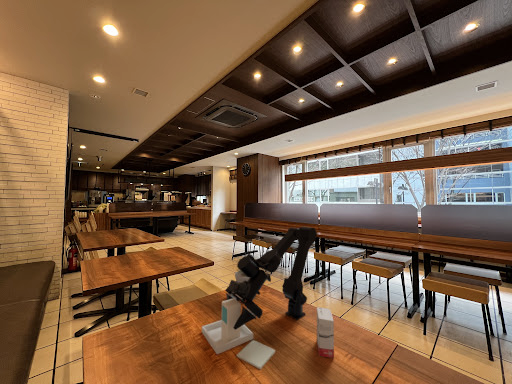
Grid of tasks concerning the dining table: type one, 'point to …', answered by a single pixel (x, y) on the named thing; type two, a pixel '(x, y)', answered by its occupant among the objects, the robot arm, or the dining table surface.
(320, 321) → the ink box
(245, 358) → the board
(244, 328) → the parts tray
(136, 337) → the dining table surface
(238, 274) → the potted plant
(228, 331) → the carton
